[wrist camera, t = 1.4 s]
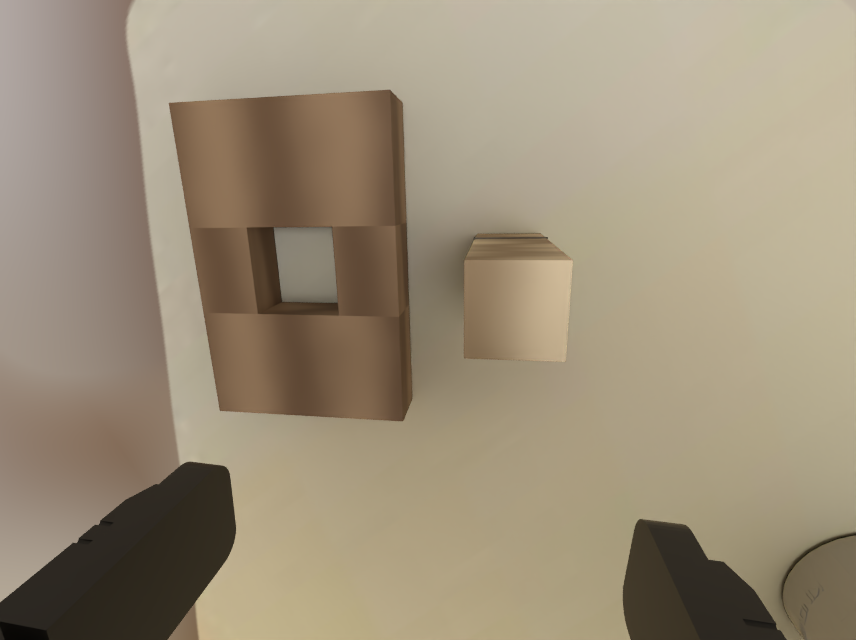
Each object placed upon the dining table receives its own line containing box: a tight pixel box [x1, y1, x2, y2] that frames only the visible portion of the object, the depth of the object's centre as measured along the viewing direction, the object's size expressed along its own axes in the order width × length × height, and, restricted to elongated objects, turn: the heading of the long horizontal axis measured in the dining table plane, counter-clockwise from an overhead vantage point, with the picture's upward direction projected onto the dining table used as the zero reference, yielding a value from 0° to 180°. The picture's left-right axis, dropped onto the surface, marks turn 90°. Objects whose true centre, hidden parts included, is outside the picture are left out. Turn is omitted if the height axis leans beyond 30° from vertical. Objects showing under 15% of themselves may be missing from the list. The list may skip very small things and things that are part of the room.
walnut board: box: [169, 90, 412, 421], centre depth 26 cm, size 12×18×3 cm, turn 1°
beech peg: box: [464, 233, 573, 362], centre depth 20 cm, size 4×4×11 cm
